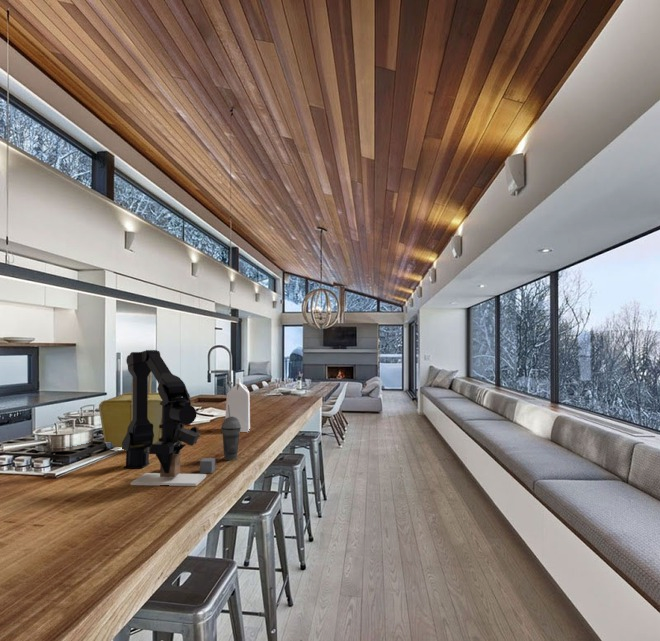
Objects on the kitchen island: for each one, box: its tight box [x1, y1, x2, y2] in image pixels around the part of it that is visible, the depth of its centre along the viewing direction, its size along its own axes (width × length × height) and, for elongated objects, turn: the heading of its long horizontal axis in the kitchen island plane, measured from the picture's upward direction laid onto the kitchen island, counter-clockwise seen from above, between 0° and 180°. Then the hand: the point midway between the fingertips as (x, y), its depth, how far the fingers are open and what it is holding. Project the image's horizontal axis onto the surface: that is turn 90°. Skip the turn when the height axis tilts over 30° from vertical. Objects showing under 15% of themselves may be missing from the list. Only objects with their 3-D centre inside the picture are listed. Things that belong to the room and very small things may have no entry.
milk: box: [224, 377, 251, 433], centre depth 227 cm, size 12×12×26 cm
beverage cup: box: [220, 405, 241, 461], centre depth 170 cm, size 7×7×20 cm
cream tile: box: [130, 472, 207, 487], centre depth 141 cm, size 20×10×1 cm, turn 88°
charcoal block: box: [199, 457, 216, 474], centre depth 152 cm, size 4×4×4 cm
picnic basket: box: [98, 372, 162, 451], centre depth 194 cm, size 29×26×30 cm
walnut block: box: [159, 453, 181, 477], centre depth 142 cm, size 4×4×6 cm
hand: (169, 470), depth 142 cm, fingers closed on walnut block, 4 cm apart
